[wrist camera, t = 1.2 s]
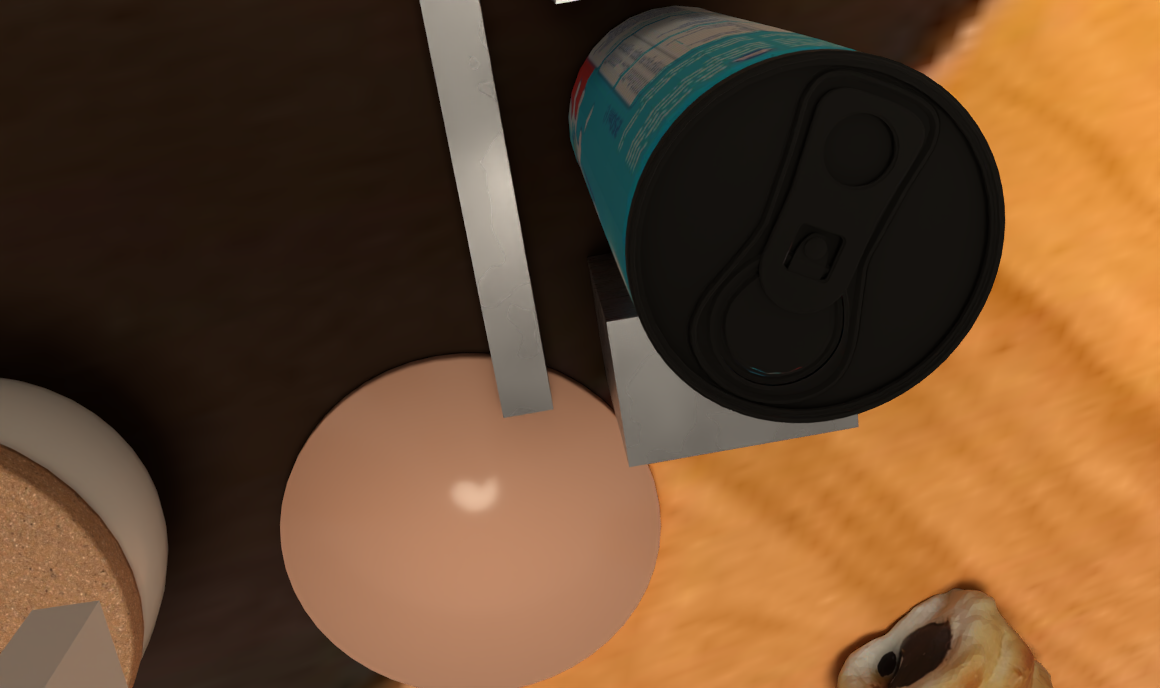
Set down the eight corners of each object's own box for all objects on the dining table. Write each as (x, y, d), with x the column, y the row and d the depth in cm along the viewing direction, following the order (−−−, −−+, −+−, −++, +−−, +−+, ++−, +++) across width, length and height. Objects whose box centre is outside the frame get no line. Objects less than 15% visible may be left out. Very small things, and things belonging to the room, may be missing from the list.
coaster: (240, 389, 32) (235, 397, 32) (631, 321, 33) (632, 328, 32) (333, 710, 37) (331, 721, 36) (679, 648, 37) (682, 658, 36)
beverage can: (528, 150, 31) (554, 318, 17) (637, -39, 29) (769, -31, 15) (700, 251, 32) (858, 483, 18) (813, 76, 30) (1084, 179, 16)
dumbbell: (395, -146, 28) (368, -171, 22) (746, -204, 28) (810, -244, 22) (503, 398, 33) (504, 489, 28) (797, 346, 33) (858, 427, 28)
